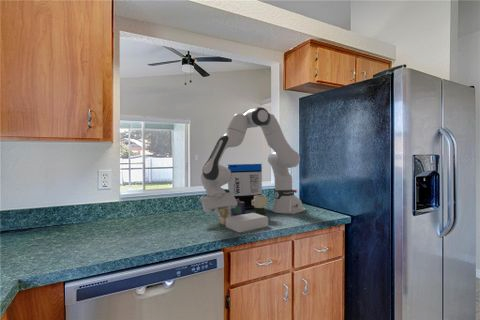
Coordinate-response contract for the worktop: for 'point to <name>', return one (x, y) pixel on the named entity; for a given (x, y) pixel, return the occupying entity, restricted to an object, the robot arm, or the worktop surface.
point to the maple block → (224, 215)
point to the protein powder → (245, 182)
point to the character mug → (260, 204)
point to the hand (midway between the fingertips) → (225, 215)
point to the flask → (238, 209)
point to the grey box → (246, 222)
